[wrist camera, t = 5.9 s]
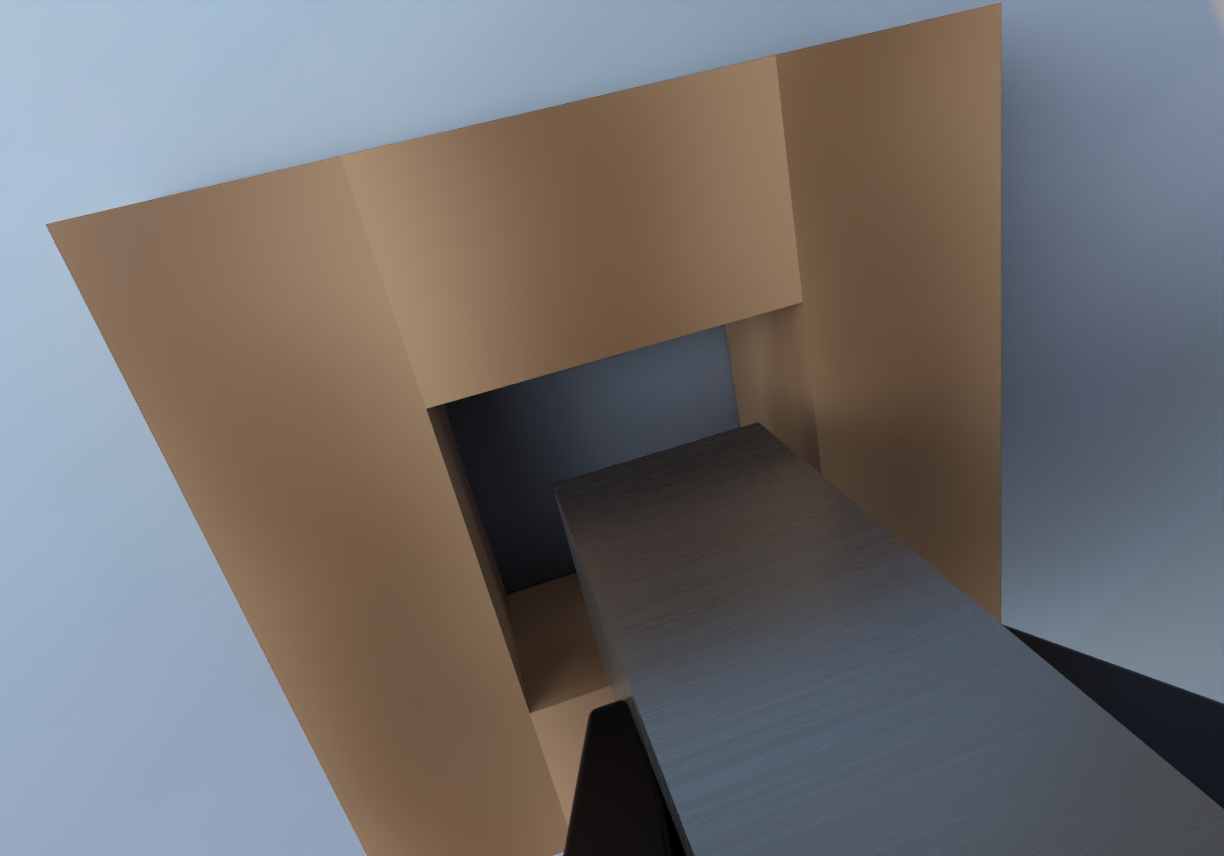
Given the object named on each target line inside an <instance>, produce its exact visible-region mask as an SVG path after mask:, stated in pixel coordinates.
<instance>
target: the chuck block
mask: <svg viewBox="0 0 1224 856" xmlns="http://www.w3.org/2000/svg"><path fill="white" fill-rule="evenodd" d="M46 226H47V228H48V230H49V232H50V234H51V236H52V238H53V240H54V242H55V244H56V246H57V248H58V250H59V252H60V254H61V256H62V258H63V259H64V261H65V263H66V265H67V267H68V269H69V271H70V273H71V275H72V277H73V279H74V281H75V283H76V285H77V287H78V289H79V291H80V293H81V295H82V297H83V299H84V301H85V303H86V305H87V307H88V309H89V311H90V313H91V314H92V316H93V318H94V320H95V322H96V324H97V326H98V328H99V330H100V332H101V334H102V336H103V338H104V340H105V342H106V344H107V346H108V348H109V350H110V352H111V354H112V356H113V358H114V360H115V362H116V364H117V366H118V367H119V369H120V371H121V373H122V375H123V377H124V379H125V381H126V383H127V385H128V387H129V389H130V391H131V393H132V395H133V397H134V399H135V401H136V403H137V405H138V407H139V409H140V411H141V413H142V415H143V417H144V419H145V421H146V422H147V424H148V426H149V428H150V430H151V432H152V434H153V436H154V438H155V440H156V442H157V444H158V446H159V448H160V450H161V452H162V454H163V456H164V458H165V460H166V462H167V464H168V466H169V468H170V470H171V472H172V474H173V475H174V477H175V479H176V481H177V483H178V485H179V487H180V489H181V491H182V493H183V495H184V497H185V499H186V501H187V503H188V505H189V507H190V509H191V511H192V513H193V515H194V517H195V519H196V521H197V523H198V525H199V527H200V529H201V530H202V532H203V534H204V536H205V538H206V540H207V542H208V544H209V546H210V548H211V550H212V552H213V554H214V556H215V558H216V560H217V562H218V564H219V566H220V568H221V570H222V572H223V574H224V576H225V578H226V580H227V582H228V583H229V585H230V587H231V589H232V591H233V593H234V595H235V597H236V599H237V601H238V603H239V605H240V607H241V609H242V611H243V613H244V615H245V617H246V619H247V621H248V623H249V625H250V627H251V629H252V631H253V633H254V635H255V637H256V638H257V640H258V642H259V644H260V646H261V648H262V650H263V652H264V654H265V656H266V658H267V660H268V662H269V664H270V666H271V668H272V670H273V672H274V674H275V676H276V678H277V680H278V682H279V684H280V686H281V688H282V690H283V691H284V693H285V695H286V697H287V699H288V701H289V703H290V705H291V707H292V709H293V711H294V713H295V715H296V717H297V719H298V721H299V723H300V725H301V727H302V729H303V731H304V733H305V735H306V737H307V739H308V741H309V743H310V745H311V746H312V748H313V750H314V752H315V754H316V756H317V758H318V760H319V762H320V764H321V766H322V768H323V770H324V772H325V774H326V776H327V778H328V780H329V782H330V784H331V786H332V788H333V790H334V792H335V794H336V796H337V798H338V799H339V801H340V803H341V805H342V807H343V809H344V811H345V813H346V815H347V817H348V819H349V821H350V823H351V825H352V827H353V829H354V831H355V833H356V835H357V837H358V839H359V841H360V843H361V845H362V847H363V849H364V851H365V853H366V854H367V856H553V855H555V854H558V853H561V852H563V851H564V848H565V843H566V837H567V832H568V826H569V821H570V815H571V810H572V804H573V799H574V793H575V788H576V782H577V777H578V771H579V766H580V760H581V755H582V749H583V744H584V738H585V733H586V727H587V722H588V717H589V714H590V712H591V711H592V710H593V709H595V708H598V707H601V706H604V705H607V704H610V703H612V702H615V698H614V695H613V693H612V690H611V687H610V684H609V681H608V678H607V675H606V672H605V669H604V667H603V664H602V661H601V658H600V655H599V651H598V648H597V644H596V640H595V637H594V633H593V629H592V626H591V622H590V619H589V615H588V611H587V608H586V604H585V601H584V597H583V593H582V590H581V586H580V583H579V579H578V575H577V572H576V573H573V574H570V575H567V576H564V577H561V578H558V579H555V580H551V581H548V582H545V583H542V584H539V585H536V586H533V587H530V588H527V589H524V590H520V591H517V592H514V593H511V594H508V595H507V594H506V591H505V588H504V585H503V582H502V579H501V576H500V573H499V570H498V567H497V564H496V561H495V558H494V554H493V551H492V548H491V545H490V542H489V539H488V536H487V533H486V530H485V527H484V524H483V521H482V518H481V515H480V512H479V509H478V506H477V503H476V500H475V497H474V494H473V491H472V487H471V484H470V481H469V478H468V475H467V472H466V469H465V466H464V463H463V460H462V457H461V454H460V451H459V448H458V445H457V442H456V439H455V436H454V433H453V430H452V427H451V423H450V420H449V417H448V414H447V411H446V408H445V405H444V404H445V403H448V402H452V401H455V400H459V399H462V398H466V397H469V396H473V395H476V394H480V393H483V392H487V391H491V390H494V389H498V388H501V387H505V386H508V385H512V384H515V383H519V382H522V381H526V380H529V379H533V378H536V377H540V376H544V375H547V374H551V373H554V372H558V371H561V370H565V369H568V368H572V367H575V366H579V365H582V364H586V363H589V362H593V361H597V360H600V359H604V358H607V357H611V356H614V355H618V354H621V353H625V352H628V351H632V350H635V349H639V348H642V347H646V346H650V345H653V344H657V343H660V342H664V341H667V340H671V339H674V338H678V337H681V336H685V335H688V334H692V333H695V332H699V331H703V330H706V329H710V328H713V327H717V326H720V325H724V326H725V333H726V339H727V346H728V352H729V358H730V365H731V371H732V378H733V384H734V391H735V397H736V403H737V410H738V416H739V423H740V427H743V426H747V425H750V424H753V423H756V422H759V423H760V424H761V425H762V426H764V427H765V428H766V429H767V430H768V431H770V432H771V433H772V434H773V435H774V436H776V437H777V438H778V439H779V440H781V441H782V442H783V443H784V444H785V445H787V446H788V447H789V448H790V449H791V450H793V451H794V452H795V453H796V454H797V455H799V456H800V457H801V458H802V459H803V460H805V461H806V462H807V463H808V464H809V465H811V466H812V467H813V468H814V469H815V470H817V471H818V472H819V473H820V474H821V475H823V476H824V477H825V478H826V479H827V480H829V481H830V482H831V483H832V484H833V485H835V486H836V487H837V488H838V489H839V490H841V491H842V492H843V493H844V494H845V495H847V496H848V497H849V498H850V499H851V500H853V501H854V502H855V503H856V504H857V505H859V506H860V507H861V508H862V509H863V510H865V511H866V512H867V513H868V514H869V515H871V516H872V517H873V518H874V519H875V520H877V521H878V522H879V523H880V524H881V525H883V526H884V527H885V528H886V529H888V530H889V531H890V532H891V533H892V534H894V535H895V536H896V537H897V538H898V539H900V540H901V541H902V542H903V543H904V544H906V545H907V546H908V547H909V548H910V549H912V550H913V551H914V552H915V553H916V554H918V555H919V556H920V557H921V558H922V559H924V560H925V561H926V562H927V563H928V564H930V565H931V566H932V567H933V568H934V569H936V570H937V571H938V572H939V573H940V574H942V575H943V576H944V577H945V578H946V579H948V580H949V581H950V582H951V583H952V584H954V585H955V586H956V587H957V588H958V589H960V590H961V591H962V592H963V593H964V594H966V595H967V596H968V597H969V598H970V599H972V600H973V601H974V602H975V603H976V604H978V605H979V606H980V607H981V608H982V609H984V610H985V611H986V612H987V613H988V614H990V615H991V616H992V617H993V618H995V619H996V620H997V621H998V622H999V623H1001V3H998V4H993V5H989V6H985V7H980V8H976V9H972V10H967V11H963V12H959V13H954V14H950V15H946V16H942V17H937V18H933V19H929V20H924V21H920V22H916V23H911V24H907V25H903V26H898V27H894V28H890V29H886V30H881V31H877V32H873V33H868V34H864V35H860V36H855V37H851V38H847V39H842V40H838V41H834V42H830V43H825V44H821V45H817V46H812V47H808V48H804V49H799V50H795V51H791V52H786V53H782V54H778V55H774V56H769V57H765V58H761V59H756V60H752V61H748V62H743V63H739V64H735V65H730V66H726V67H722V68H717V69H713V70H709V71H705V72H700V73H696V74H692V75H687V76H683V77H679V78H674V79H670V80H666V81H661V82H657V83H653V84H649V85H644V86H640V87H636V88H631V89H627V90H623V91H618V92H614V93H610V94H605V95H601V96H597V97H593V98H588V99H584V100H580V101H575V102H571V103H567V104H562V105H558V106H554V107H549V108H545V109H541V110H537V111H532V112H528V113H524V114H519V115H515V116H511V117H506V118H502V119H498V120H493V121H489V122H485V123H480V124H476V125H472V126H468V127H463V128H459V129H455V130H450V131H446V132H442V133H437V134H433V135H429V136H424V137H420V138H416V139H412V140H407V141H403V142H399V143H394V144H390V145H386V146H381V147H377V148H373V149H368V150H364V151H360V152H356V153H351V154H347V155H343V156H338V157H334V158H330V159H325V160H321V161H317V162H312V163H308V164H304V165H300V166H295V167H291V168H287V169H282V170H278V171H274V172H269V173H265V174H261V175H256V176H252V177H248V178H243V179H239V180H235V181H231V182H226V183H222V184H218V185H213V186H209V187H205V188H200V189H196V190H192V191H187V192H183V193H179V194H175V195H170V196H166V197H162V198H157V199H153V200H149V201H144V202H140V203H136V204H131V205H127V206H123V207H119V208H114V209H110V210H106V211H101V212H97V213H93V214H88V215H84V216H80V217H75V218H71V219H67V220H63V221H58V222H54V223H50V224H46Z"/></svg>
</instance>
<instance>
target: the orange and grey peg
mask: <svg viewBox="0 0 1224 856" xmlns="http://www.w3.org/2000/svg"><path fill="white" fill-rule="evenodd" d="M552 485H553V489H554V492H555V496H556V500H557V503H558V507H559V510H560V514H561V518H562V521H563V525H564V529H565V532H566V536H567V539H568V543H569V547H570V550H571V554H572V557H573V561H574V565H575V568H576V572H577V575H578V579H579V583H580V586H581V590H582V593H583V597H584V601H585V604H586V608H587V611H588V615H589V619H590V622H591V626H592V629H593V633H594V637H595V640H596V644H597V648H598V651H599V655H600V658H601V661H602V664H603V667H604V669H605V672H606V675H607V678H608V681H609V684H610V687H611V690H612V693H613V695H614V698H615V701H618V700H625V701H626V702H627V705H628V707H629V710H630V712H631V715H632V717H633V720H634V723H635V725H636V728H637V730H638V733H639V735H640V738H641V740H642V743H643V746H644V748H645V751H646V753H647V756H648V758H649V761H650V763H651V766H652V769H653V771H654V774H655V776H656V779H657V781H658V784H659V787H660V789H661V792H662V795H663V798H664V801H665V805H666V809H667V812H668V816H669V820H670V824H671V828H672V832H673V835H674V839H675V843H676V847H677V851H678V855H679V856H1224V809H1223V808H1222V807H1221V806H1219V805H1218V804H1217V803H1216V802H1215V801H1213V800H1212V799H1211V798H1210V797H1209V796H1207V795H1206V794H1205V793H1204V792H1203V791H1201V790H1200V789H1199V788H1198V787H1196V786H1195V785H1194V784H1193V783H1192V782H1190V781H1189V780H1188V779H1187V778H1186V777H1184V776H1183V775H1182V774H1181V773H1180V772H1178V771H1177V770H1176V769H1175V768H1174V767H1172V766H1171V765H1170V764H1169V763H1168V762H1166V761H1165V760H1164V759H1163V758H1162V757H1160V756H1159V755H1158V754H1157V753H1156V752H1154V751H1153V750H1152V749H1151V748H1150V747H1148V746H1147V745H1146V744H1145V743H1144V742H1142V741H1141V740H1140V739H1139V738H1138V737H1136V736H1135V735H1134V734H1133V733H1132V732H1130V731H1129V730H1128V729H1127V728H1126V727H1124V726H1123V725H1122V724H1121V723H1120V722H1118V721H1117V720H1116V719H1115V718H1114V717H1112V716H1111V715H1110V714H1109V713H1108V712H1106V711H1105V710H1104V709H1103V708H1102V707H1100V706H1099V705H1098V704H1097V703H1096V702H1094V701H1093V700H1092V699H1091V698H1089V697H1088V696H1087V695H1086V694H1085V693H1083V692H1082V691H1081V690H1080V689H1079V688H1077V687H1076V686H1075V685H1074V684H1073V683H1071V682H1070V681H1069V680H1068V679H1067V678H1065V677H1064V676H1063V675H1062V674H1061V673H1059V672H1058V671H1057V670H1056V669H1055V668H1053V667H1052V666H1051V665H1050V664H1049V663H1047V662H1046V661H1045V660H1044V659H1043V658H1041V657H1040V656H1039V655H1038V654H1037V653H1035V652H1034V651H1033V650H1032V649H1031V648H1029V647H1028V646H1027V645H1026V644H1025V643H1023V642H1022V641H1021V640H1020V639H1019V638H1017V637H1016V636H1015V635H1014V634H1013V633H1011V632H1010V631H1009V630H1008V629H1007V628H1005V627H1004V626H1003V625H1002V624H1001V623H999V622H998V621H997V620H996V619H995V618H993V617H992V616H991V615H990V614H988V613H987V612H986V611H985V610H984V609H982V608H981V607H980V606H979V605H978V604H976V603H975V602H974V601H973V600H972V599H970V598H969V597H968V596H967V595H966V594H964V593H963V592H962V591H961V590H960V589H958V588H957V587H956V586H955V585H954V584H952V583H951V582H950V581H949V580H948V579H946V578H945V577H944V576H943V575H942V574H940V573H939V572H938V571H937V570H936V569H934V568H933V567H932V566H931V565H930V564H928V563H927V562H926V561H925V560H924V559H922V558H921V557H920V556H919V555H918V554H916V553H915V552H914V551H913V550H912V549H910V548H909V547H908V546H907V545H906V544H904V543H903V542H902V541H901V540H900V539H898V538H897V537H896V536H895V535H894V534H892V533H891V532H890V531H889V530H888V529H886V528H885V527H884V526H883V525H881V524H880V523H879V522H878V521H877V520H875V519H874V518H873V517H872V516H871V515H869V514H868V513H867V512H866V511H865V510H863V509H862V508H861V507H860V506H859V505H857V504H856V503H855V502H854V501H853V500H851V499H850V498H849V497H848V496H847V495H845V494H844V493H843V492H842V491H841V490H839V489H838V488H837V487H836V486H835V485H833V484H832V483H831V482H830V481H829V480H827V479H826V478H825V477H824V476H823V475H821V474H820V473H819V472H818V471H817V470H815V469H814V468H813V467H812V466H811V465H809V464H808V463H807V462H806V461H805V460H803V459H802V458H801V457H800V456H799V455H797V454H796V453H795V452H794V451H793V450H791V449H790V448H789V447H788V446H787V445H785V444H784V443H783V442H782V441H781V440H779V439H778V438H777V437H776V436H774V435H773V434H772V433H771V432H770V431H768V430H767V429H766V428H765V427H764V426H762V425H761V424H760V423H759V422H756V423H753V424H750V425H747V426H743V427H740V428H737V429H733V430H730V431H727V432H723V433H720V434H717V435H714V436H710V437H707V438H704V439H700V440H697V441H694V442H690V443H687V444H684V445H680V446H677V447H674V448H671V449H667V450H664V451H661V452H657V453H654V454H651V455H647V456H644V457H641V458H638V459H634V460H631V461H628V462H624V463H621V464H618V465H614V466H611V467H608V468H605V469H601V470H598V471H595V472H591V473H588V474H585V475H581V476H578V477H575V478H572V479H568V480H565V481H562V482H558V483H555V484H552Z"/></svg>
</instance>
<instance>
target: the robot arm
mask: <svg viewBox="0 0 1224 856" xmlns="http://www.w3.org/2000/svg"><path fill="white" fill-rule="evenodd" d="M1002 625H1003V624H1002ZM1003 626H1004V627H1005V628H1007V629H1008V630H1009V631H1010V632H1011V633H1013V634H1014V635H1015V636H1016V637H1017V638H1019V639H1020V640H1021V641H1022V642H1023V643H1025V644H1026V645H1027V646H1028V647H1029V648H1031V649H1032V650H1033V651H1034V652H1035V653H1037V654H1038V655H1039V656H1040V657H1041V658H1043V659H1044V660H1045V661H1046V662H1047V663H1049V664H1050V665H1051V666H1052V667H1053V668H1055V669H1056V670H1057V671H1058V672H1059V673H1061V674H1062V675H1063V676H1064V677H1065V678H1067V679H1068V680H1069V681H1070V682H1071V683H1073V684H1074V685H1075V686H1076V687H1077V688H1079V689H1080V690H1081V691H1082V692H1083V693H1085V694H1086V695H1087V696H1088V697H1089V698H1091V699H1092V700H1093V701H1094V702H1096V703H1097V704H1098V705H1099V706H1100V707H1102V708H1103V709H1104V710H1105V711H1106V712H1108V713H1109V714H1110V715H1111V716H1112V717H1114V718H1115V719H1116V720H1117V721H1118V722H1120V723H1121V724H1122V725H1123V726H1124V727H1126V728H1127V729H1128V730H1129V731H1130V732H1132V733H1133V734H1134V735H1135V736H1136V737H1138V738H1139V739H1140V740H1141V741H1142V742H1144V743H1145V744H1146V745H1147V746H1148V747H1150V748H1151V749H1152V750H1153V751H1154V752H1156V753H1157V754H1158V755H1159V756H1160V757H1162V758H1163V759H1164V760H1165V761H1166V762H1168V763H1169V764H1170V765H1171V766H1172V767H1174V768H1175V769H1176V770H1177V771H1178V772H1180V773H1181V774H1182V775H1183V776H1184V777H1186V778H1187V779H1188V780H1189V781H1190V782H1192V783H1193V784H1194V785H1195V786H1196V787H1198V788H1199V789H1200V790H1201V791H1203V792H1204V793H1205V794H1206V795H1207V796H1209V797H1210V798H1211V799H1212V800H1213V801H1215V802H1216V803H1217V804H1218V805H1219V806H1221V807H1222V808H1223V809H1224V704H1223V703H1220V702H1218V701H1215V700H1212V699H1209V698H1206V697H1204V696H1201V695H1198V694H1195V693H1192V692H1190V691H1187V690H1184V689H1181V688H1178V687H1176V686H1173V685H1170V684H1167V683H1165V682H1162V681H1159V680H1156V679H1153V678H1151V677H1148V676H1145V675H1142V674H1139V673H1137V672H1134V671H1131V670H1128V669H1125V668H1123V667H1120V666H1117V665H1114V664H1111V663H1109V662H1106V661H1103V660H1100V659H1098V658H1095V657H1092V656H1089V655H1086V654H1084V653H1081V652H1078V651H1075V650H1072V649H1070V648H1067V647H1064V646H1061V645H1058V644H1056V643H1053V642H1050V641H1047V640H1044V639H1042V638H1039V637H1036V636H1033V635H1031V634H1028V633H1025V632H1022V631H1019V630H1017V629H1014V628H1011V627H1008V626H1005V625H1003ZM563 856H679V855H678V851H677V847H676V843H675V839H674V835H673V832H672V828H671V824H670V820H669V816H668V812H667V809H666V805H665V801H664V798H663V795H662V792H661V789H660V787H659V784H658V781H657V779H656V776H655V774H654V771H653V769H652V766H651V763H650V761H649V758H648V756H647V753H646V751H645V748H644V746H643V743H642V740H641V738H640V735H639V733H638V730H637V728H636V725H635V723H634V720H633V717H632V715H631V712H630V710H629V707H628V705H627V702H626V701H625V700H618V701H615V702H612V703H610V704H607V705H604V706H601V707H598V708H595V709H593V710H592V711H591V712H590V714H589V717H588V722H587V727H586V733H585V738H584V744H583V749H582V755H581V760H580V766H579V771H578V777H577V782H576V788H575V793H574V799H573V804H572V810H571V815H570V821H569V826H568V832H567V837H566V843H565V848H564V854H563Z"/></svg>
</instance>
